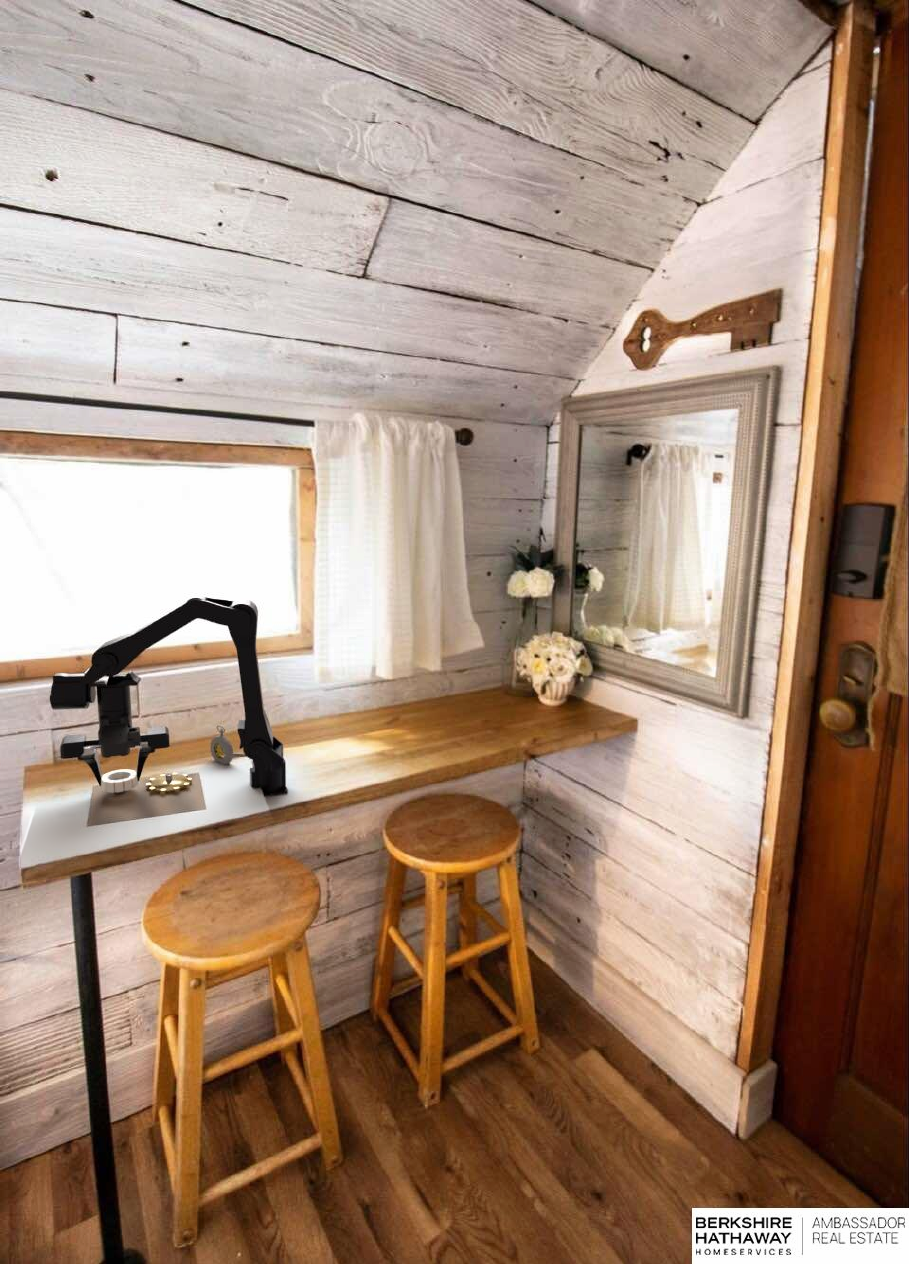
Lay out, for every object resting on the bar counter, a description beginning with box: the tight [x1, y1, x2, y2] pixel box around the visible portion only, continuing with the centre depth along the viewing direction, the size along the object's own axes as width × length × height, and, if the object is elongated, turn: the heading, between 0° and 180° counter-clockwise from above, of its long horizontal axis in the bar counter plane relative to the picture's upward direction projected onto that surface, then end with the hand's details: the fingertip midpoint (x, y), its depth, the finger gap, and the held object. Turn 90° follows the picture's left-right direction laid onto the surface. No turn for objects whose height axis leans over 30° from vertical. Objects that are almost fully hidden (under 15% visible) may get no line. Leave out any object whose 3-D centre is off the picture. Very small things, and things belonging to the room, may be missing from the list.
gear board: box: [86, 772, 207, 827], centre depth 133 cm, size 20×18×2 cm
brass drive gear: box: [146, 772, 192, 795], centre depth 138 cm, size 8×8×2 cm
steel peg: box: [114, 778, 126, 795], centre depth 134 cm, size 2×2×3 cm
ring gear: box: [101, 768, 138, 793], centre depth 134 cm, size 6×6×2 cm
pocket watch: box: [209, 725, 251, 765], centre depth 152 cm, size 8×8×10 cm
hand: (119, 782), depth 134 cm, fingers closed on ring gear, 6 cm apart
